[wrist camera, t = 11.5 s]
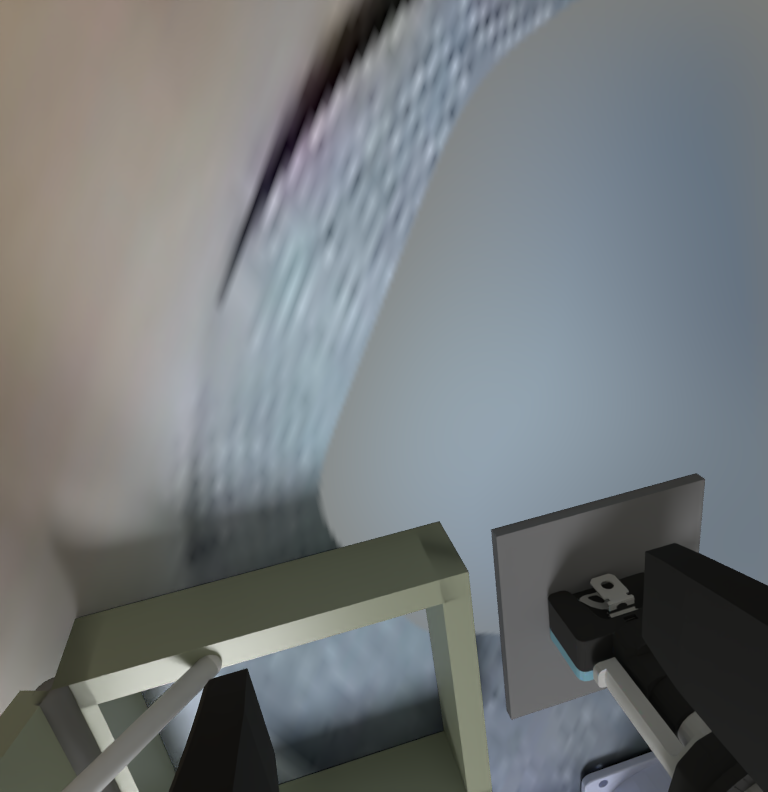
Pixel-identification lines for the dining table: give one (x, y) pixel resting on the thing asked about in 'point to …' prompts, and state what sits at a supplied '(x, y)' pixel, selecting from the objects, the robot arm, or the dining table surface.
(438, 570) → the equipment case
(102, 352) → the dining table surface
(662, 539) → the mat
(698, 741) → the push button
